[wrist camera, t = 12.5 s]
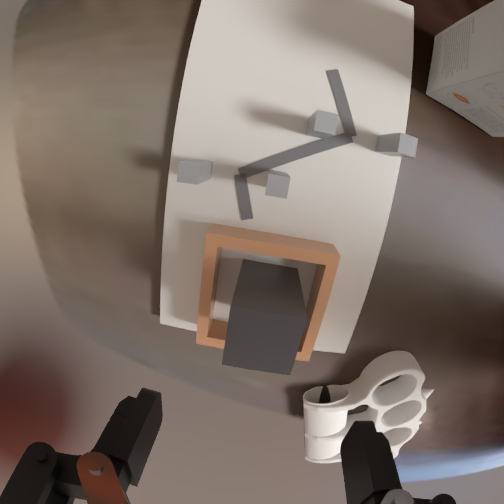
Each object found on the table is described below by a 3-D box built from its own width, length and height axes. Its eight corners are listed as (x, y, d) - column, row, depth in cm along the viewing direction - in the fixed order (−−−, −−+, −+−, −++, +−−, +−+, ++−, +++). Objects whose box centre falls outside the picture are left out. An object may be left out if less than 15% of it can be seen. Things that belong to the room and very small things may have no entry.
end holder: (333, 244, 21) (340, 255, 18) (305, 342, 24) (308, 361, 21) (213, 223, 21) (206, 232, 18) (202, 325, 24) (195, 343, 21)
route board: (408, 10, 15) (434, -13, 10) (342, 346, 25) (354, 384, 20) (214, -28, 15) (201, -60, 10) (163, 317, 25) (143, 350, 20)
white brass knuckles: (300, 361, 26) (440, 337, 24) (304, 458, 32) (408, 438, 30) (303, 386, 23) (454, 356, 21) (305, 477, 28) (414, 456, 27)
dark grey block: (297, 268, 21) (307, 318, 15) (286, 315, 23) (290, 374, 16) (243, 258, 22) (230, 306, 15) (235, 306, 23) (221, 364, 16)
